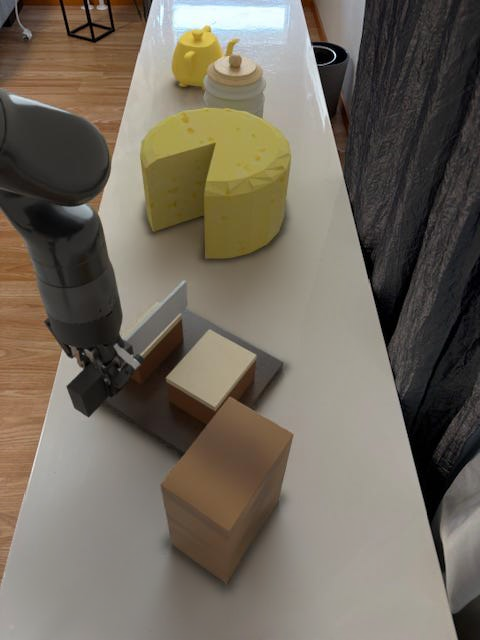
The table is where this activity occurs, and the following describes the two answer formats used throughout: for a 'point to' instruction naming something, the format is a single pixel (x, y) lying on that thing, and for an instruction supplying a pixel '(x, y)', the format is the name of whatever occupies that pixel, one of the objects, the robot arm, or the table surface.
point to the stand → (226, 487)
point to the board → (152, 396)
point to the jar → (235, 85)
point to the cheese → (217, 177)
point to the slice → (157, 345)
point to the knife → (89, 383)
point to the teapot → (197, 55)
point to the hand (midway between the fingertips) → (105, 385)
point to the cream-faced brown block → (210, 376)
